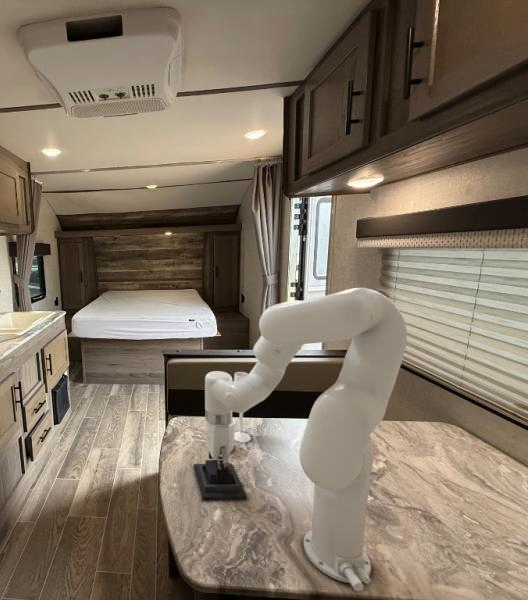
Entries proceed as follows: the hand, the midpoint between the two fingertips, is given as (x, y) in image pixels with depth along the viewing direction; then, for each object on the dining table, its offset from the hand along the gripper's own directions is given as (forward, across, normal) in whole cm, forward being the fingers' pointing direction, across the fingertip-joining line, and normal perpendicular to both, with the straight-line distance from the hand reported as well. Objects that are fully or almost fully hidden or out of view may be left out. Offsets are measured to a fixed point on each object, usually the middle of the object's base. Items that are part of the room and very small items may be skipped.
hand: (218, 468), depth 96 cm
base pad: (+4, 0, 0) cm, 4 cm away
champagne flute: (+4, -23, +14) cm, 27 cm away
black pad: (+3, 0, 0) cm, 3 cm away
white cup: (+4, -17, +6) cm, 19 cm away
